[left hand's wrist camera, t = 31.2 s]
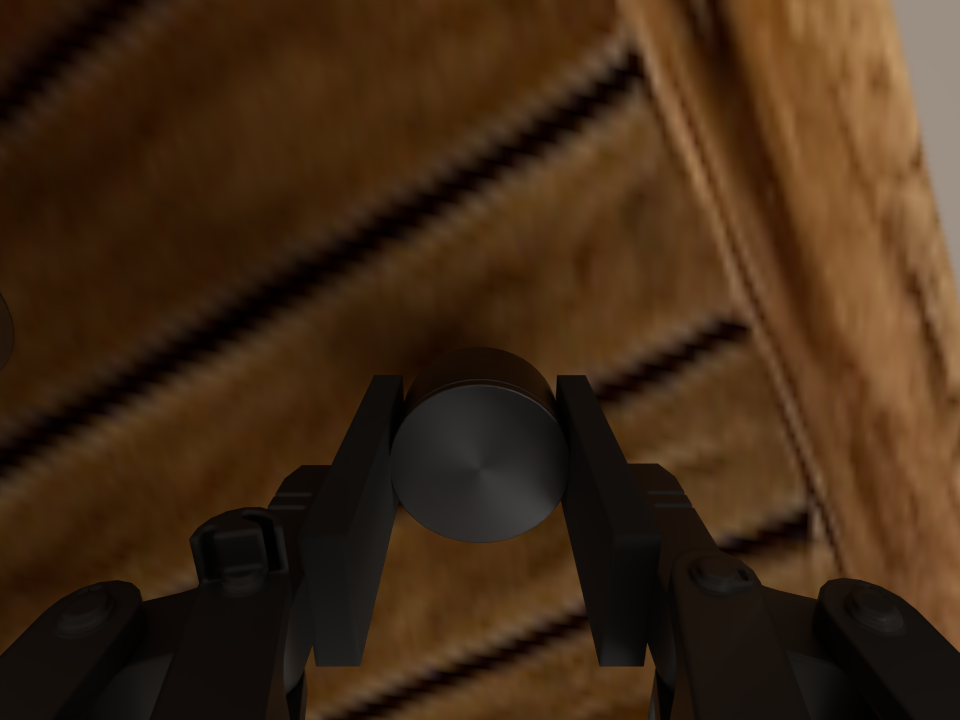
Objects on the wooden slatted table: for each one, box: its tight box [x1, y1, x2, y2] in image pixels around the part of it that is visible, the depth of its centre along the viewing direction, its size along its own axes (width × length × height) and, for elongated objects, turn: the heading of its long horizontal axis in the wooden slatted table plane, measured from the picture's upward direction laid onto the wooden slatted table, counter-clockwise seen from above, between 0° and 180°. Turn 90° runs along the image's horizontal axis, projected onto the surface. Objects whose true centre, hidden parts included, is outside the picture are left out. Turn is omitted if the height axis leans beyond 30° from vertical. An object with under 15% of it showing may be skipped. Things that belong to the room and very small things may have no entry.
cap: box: [389, 347, 570, 543], centre depth 14 cm, size 4×4×2 cm
